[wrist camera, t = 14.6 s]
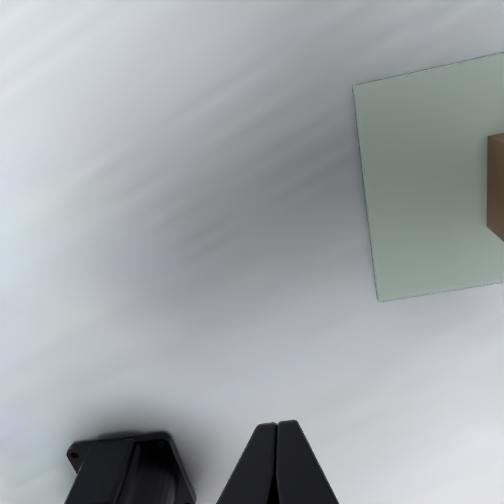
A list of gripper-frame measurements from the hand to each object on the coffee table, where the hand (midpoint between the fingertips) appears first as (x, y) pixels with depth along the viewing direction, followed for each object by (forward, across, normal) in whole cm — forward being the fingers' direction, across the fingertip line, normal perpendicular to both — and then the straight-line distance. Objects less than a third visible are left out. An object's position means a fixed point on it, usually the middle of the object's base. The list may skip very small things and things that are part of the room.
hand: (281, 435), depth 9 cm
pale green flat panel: (+12, -11, 0) cm, 16 cm away
